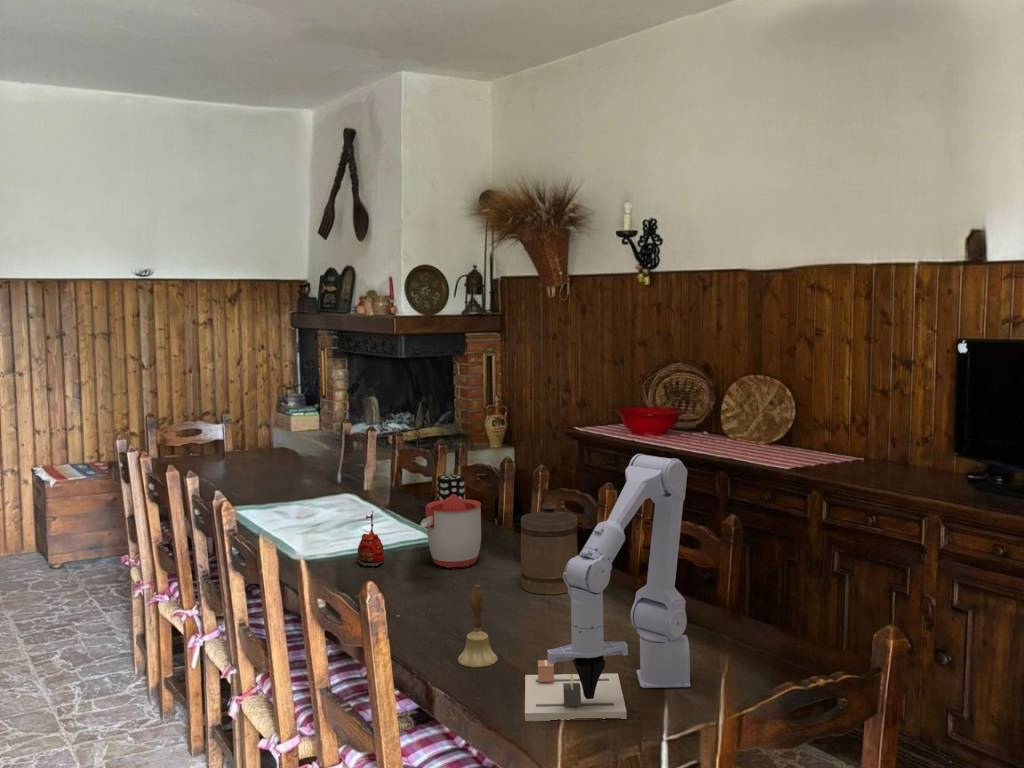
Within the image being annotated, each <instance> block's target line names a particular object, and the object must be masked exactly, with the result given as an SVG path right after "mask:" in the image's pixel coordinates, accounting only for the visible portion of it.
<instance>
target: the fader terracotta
mask: <svg viewBox="0 0 1024 768" xmlns="http://www.w3.org/2000/svg"><path fill="white" fill-rule="evenodd" d="M554 667H555V664H550V663H549V661H548V659H543V660H542V659H541V660H540V659H539V660H537V675H538V682H550V681H554V675H555V668H554Z"/></svg>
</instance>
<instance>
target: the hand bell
mask: <svg viewBox="0 0 1024 768" xmlns="http://www.w3.org/2000/svg"><path fill="white" fill-rule="evenodd" d="M470 605H471V611H472V614H473V628H472V631H471V632H468V633H467V635H466V640H465V641H466V642H465V646H464V649H463V651H462V653H461V654H460V655H459V656H458V658H457V662H458V663H459V664H460V665H462V666H464V667H469V668H485V667H489V666H492V664H493V665H494V664H496V662H498V660H499V659H498V658H499V657H498V656H497V654H496V653H495V652H494V651H493V650H492V647H491V645H490V640H489V635H488V633H486V632H484V631H483V630H482V626H483V625H482V611H483V607H484V596H483V592H482V588H481V585H480V584H474V585H473V588H472V592H471V595H470Z"/></svg>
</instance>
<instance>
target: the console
mask: <svg viewBox="0 0 1024 768" xmlns="http://www.w3.org/2000/svg"><path fill="white" fill-rule="evenodd" d="M524 676H525V678H524V681H525V682H524V683H525V684H524V685H525V686H524V687H525V689H524V721H525V722H551V721H550V720H557V719H566V720H570V719H575V718H603V719H605V718H621V719H627V717H628V716H627V712H628V711H627V707H626V704H625V699H624V693H623V691H622V685H621V682H620V678H619V673H616V672H615V673H601V675H600V677H599V680H598V682H597V685H596V689H595V694H594V699H586V698H585V696H584V694H583V688H582V684H581V681H580V678H579V675H578V673H571V674H570V673H569V674H566V673H564V674H554V681H550V682H538V674H525V675H524ZM563 683H580V689H581V706H564V695H563ZM627 720H628V719H627Z"/></svg>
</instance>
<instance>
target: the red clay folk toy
mask: <svg viewBox="0 0 1024 768" xmlns="http://www.w3.org/2000/svg"><path fill="white" fill-rule="evenodd" d="M365 519H366V520H368V519H370V521H371V524H370V527H371V528H370V531H369V533H363V534H362V535H361V539H360V541H359V544H358V549H357V554H358V557H357V559H358V561H359V560H360V562H363V563H380V562H382V561H383V562H384V561H385V550H384V546H383V543H382V540H381V538H380V537H379V535H378V534H375V533H374V530H373V527H374V522H373V521H374V510H372V511H371V514H370V516H369V515H365Z"/></svg>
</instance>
